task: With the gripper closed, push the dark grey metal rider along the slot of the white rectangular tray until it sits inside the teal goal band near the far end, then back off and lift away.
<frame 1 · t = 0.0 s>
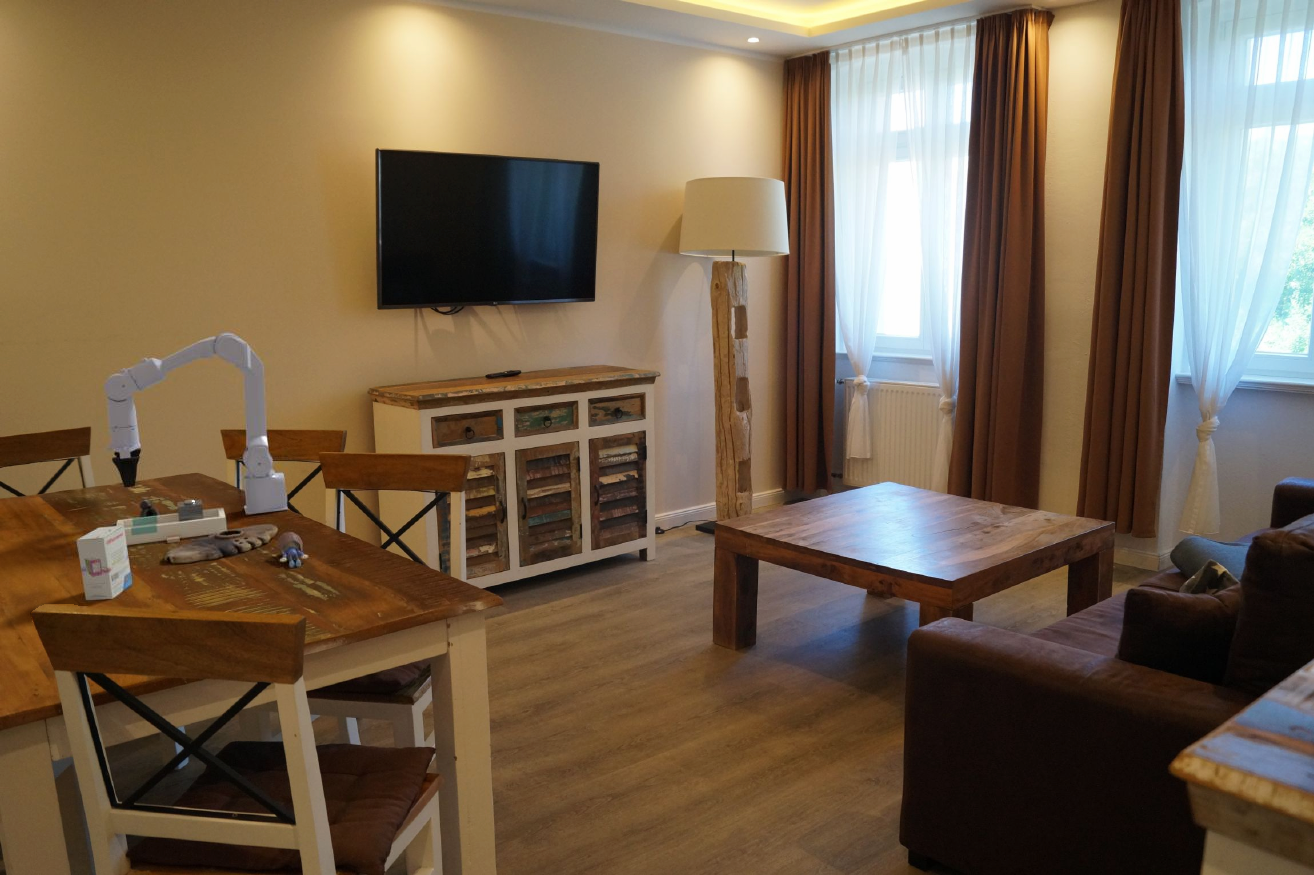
hand: (130, 483, 226), 10 cm above the table, fingers open, 7 cm apart
mask: (223, 550, 208), on the table
ink box: (109, 593, 181), on the table
figurine: (292, 561, 199), on the table
rider: (190, 511, 221), point 5 cm above the table, slide at 0.0 cm
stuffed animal: (148, 526, 229), on the table
white rectangular tray: (173, 533, 220), on the table
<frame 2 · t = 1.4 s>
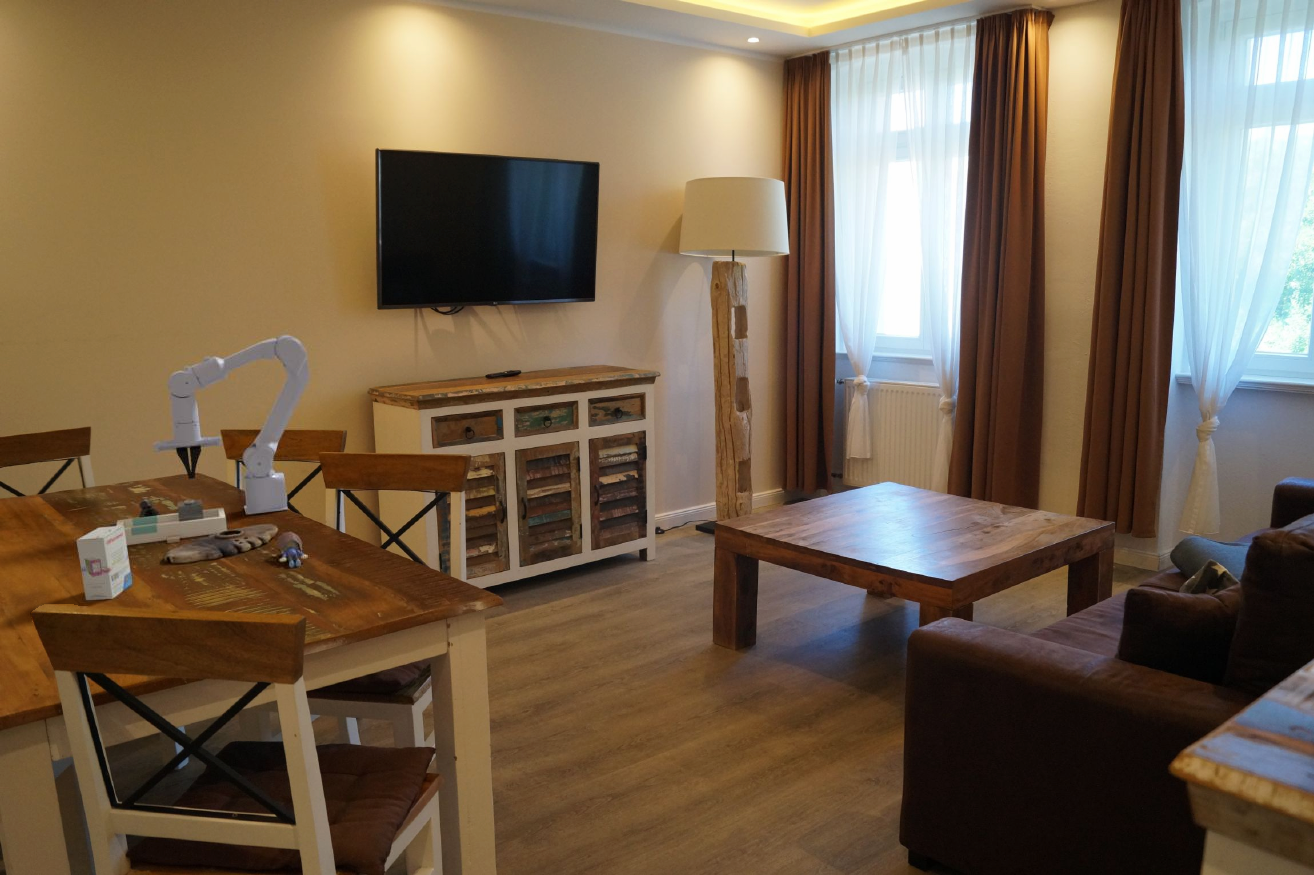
hand: (191, 477, 232), 10 cm above the table, fingers closed
nothing on the table moved.
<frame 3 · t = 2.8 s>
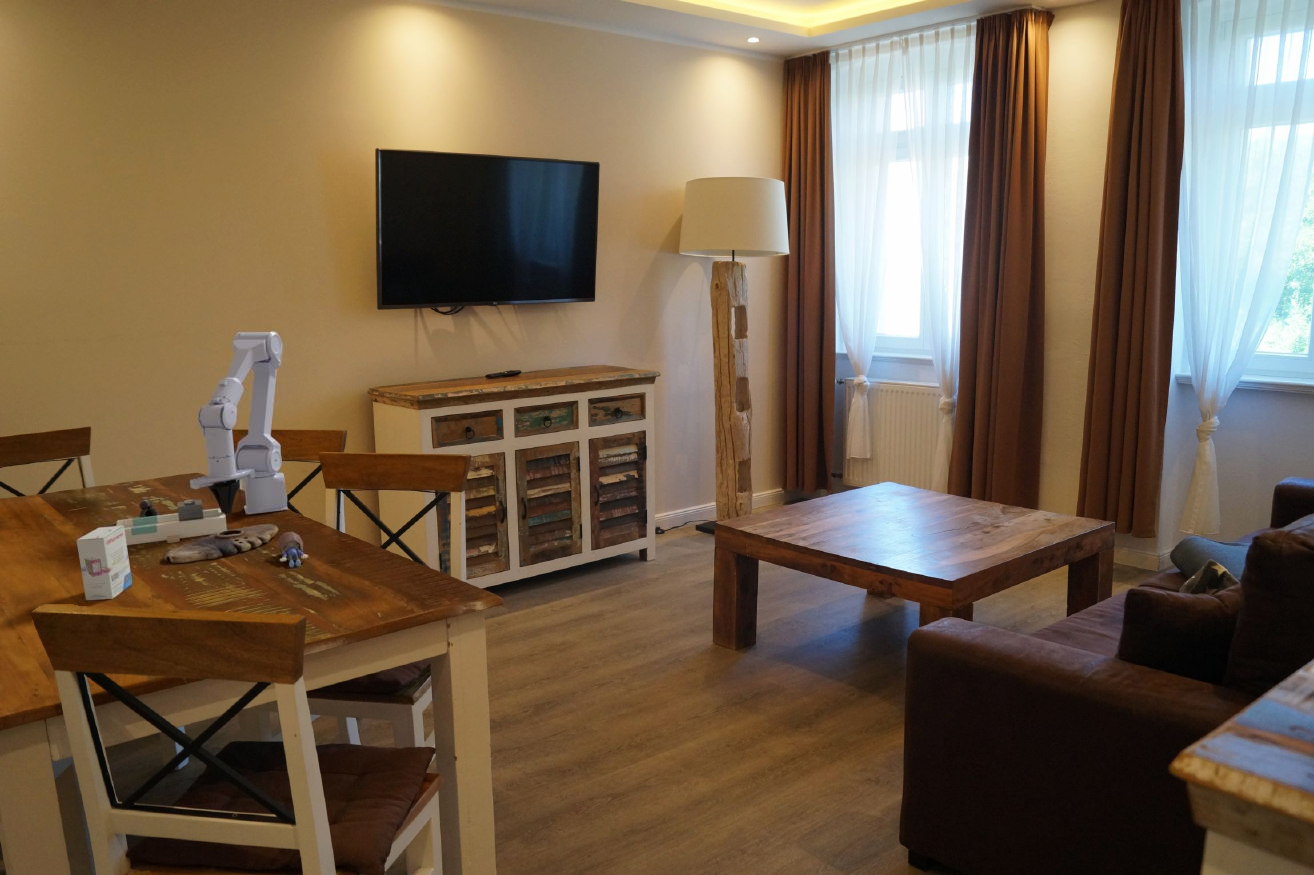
hand: (226, 513, 224), 3 cm above the table, fingers closed, pressing on white rectangular tray
nothing on the table moved.
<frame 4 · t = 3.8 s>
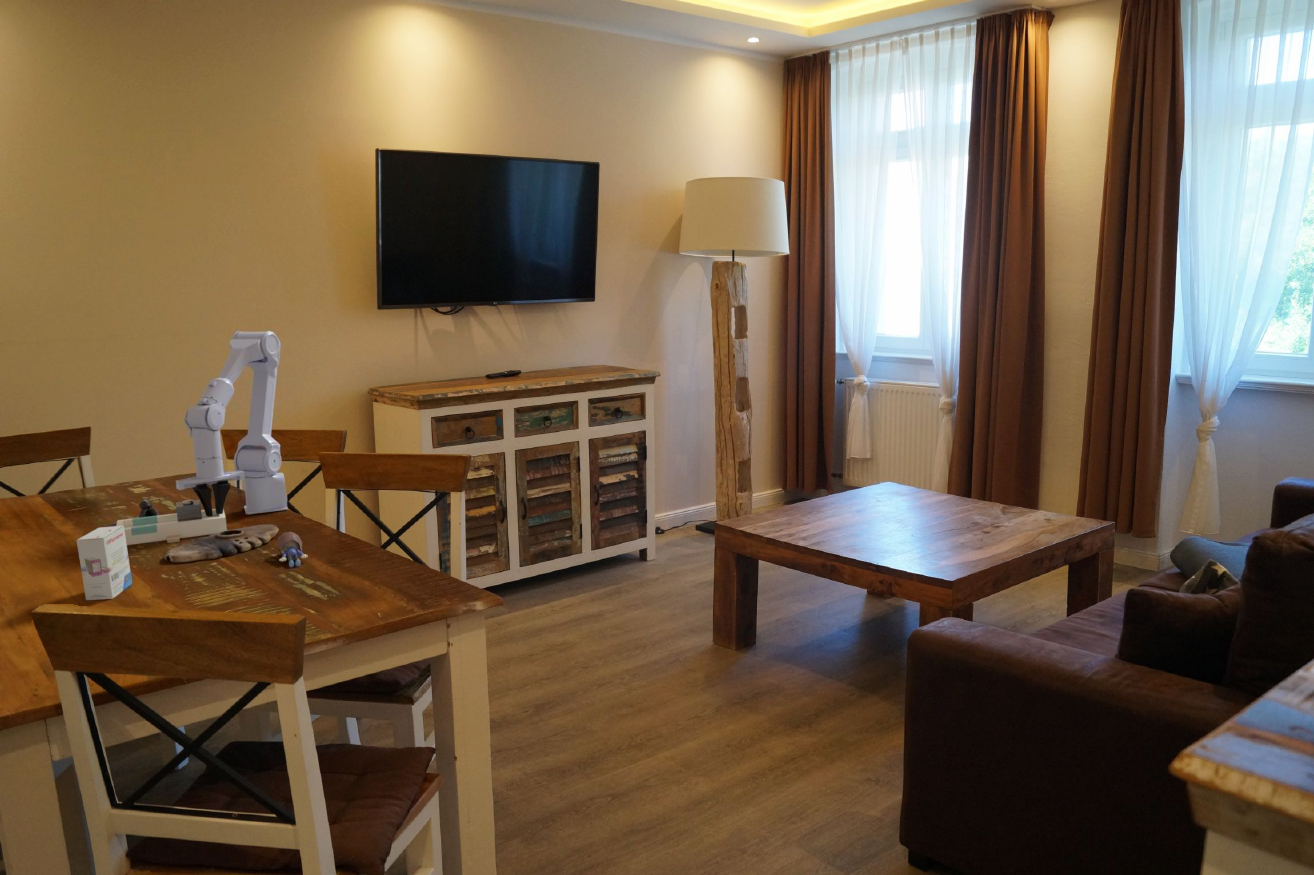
hand: (214, 515, 223), 3 cm above the table, fingers closed
rider: (189, 511, 221), point 5 cm above the table, slide at 0.4 cm, touching gripper
everything else where it was.
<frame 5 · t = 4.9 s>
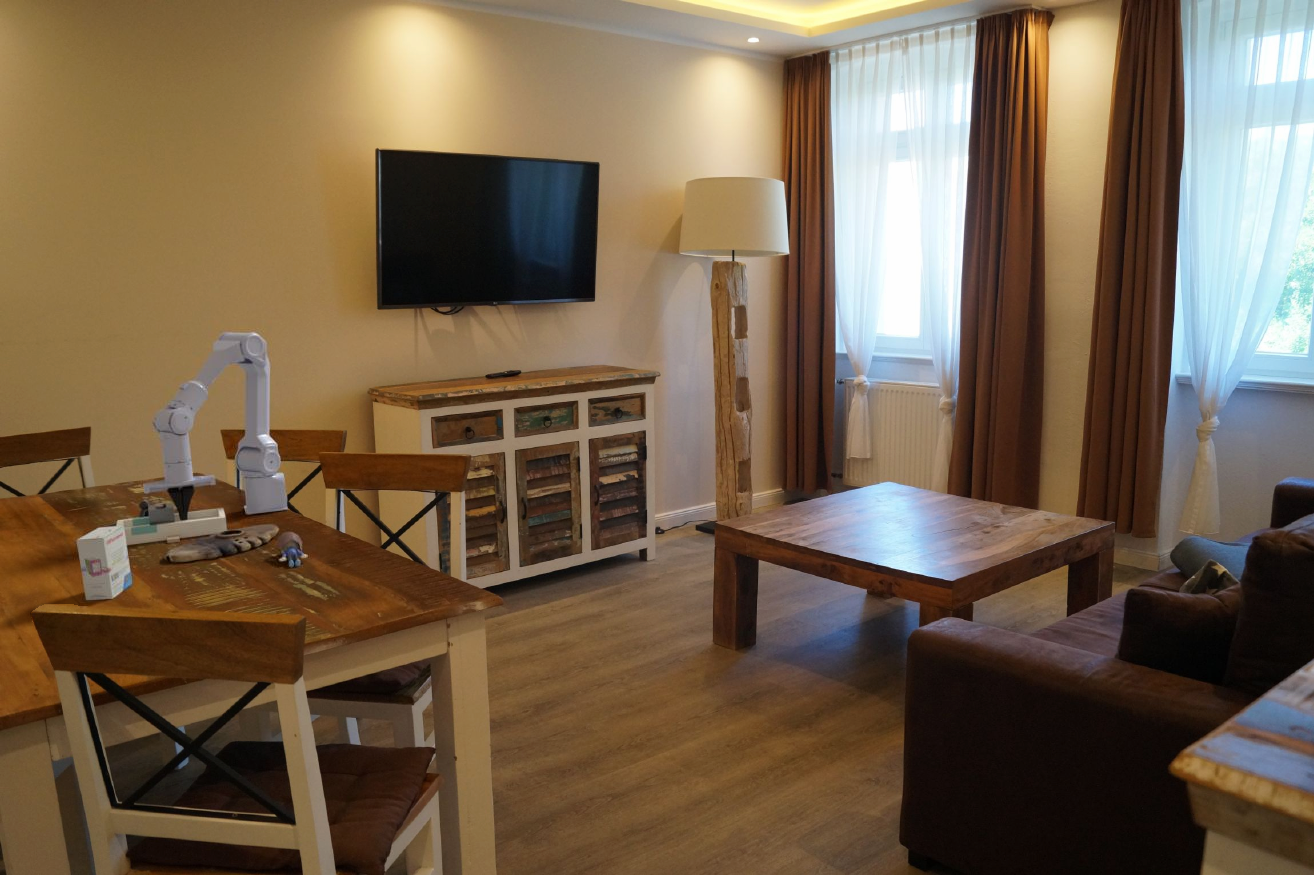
hand: (183, 519, 220), 3 cm above the table, fingers closed
rider: (161, 515, 218), point 5 cm above the table, slide at 5.9 cm, touching gripper
everything else where it was.
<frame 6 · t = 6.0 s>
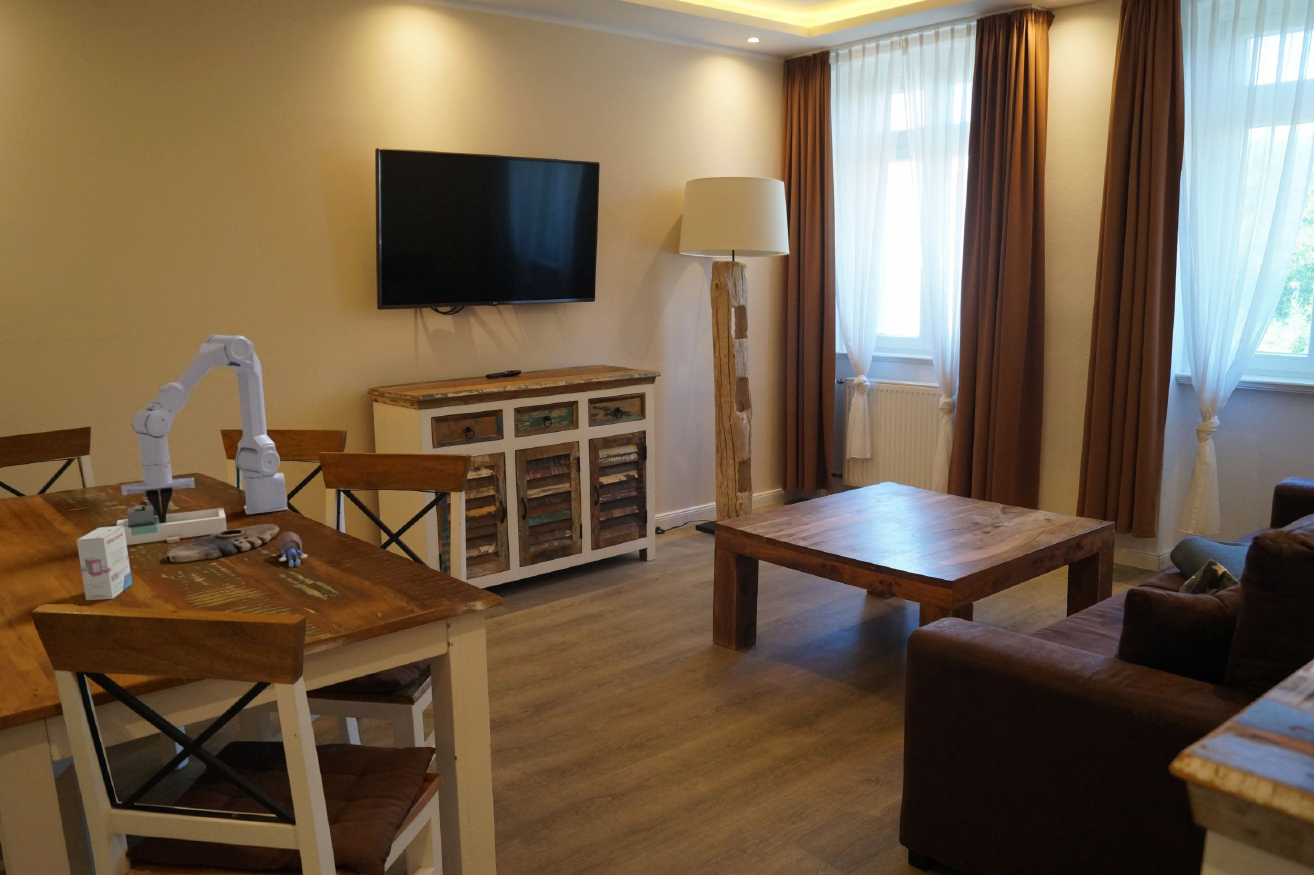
hand: (162, 522, 219), 3 cm above the table, fingers closed
rider: (140, 517, 216), point 5 cm above the table, slide at 10.1 cm, touching gripper
everything else where it was.
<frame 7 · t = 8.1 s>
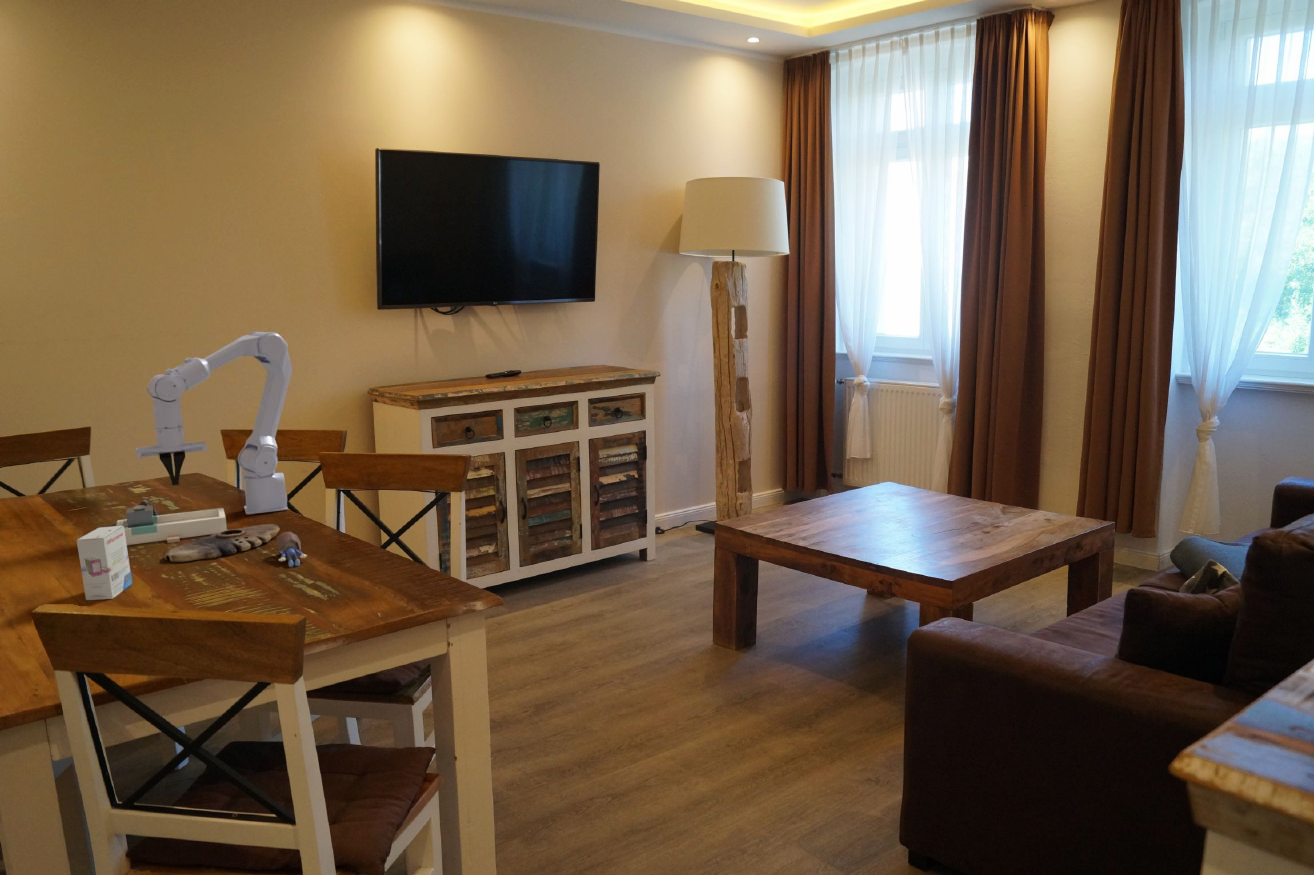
hand: (175, 484, 225), 10 cm above the table, fingers closed
rider: (140, 517, 216), point 5 cm above the table, slide at 10.2 cm
everything else where it was.
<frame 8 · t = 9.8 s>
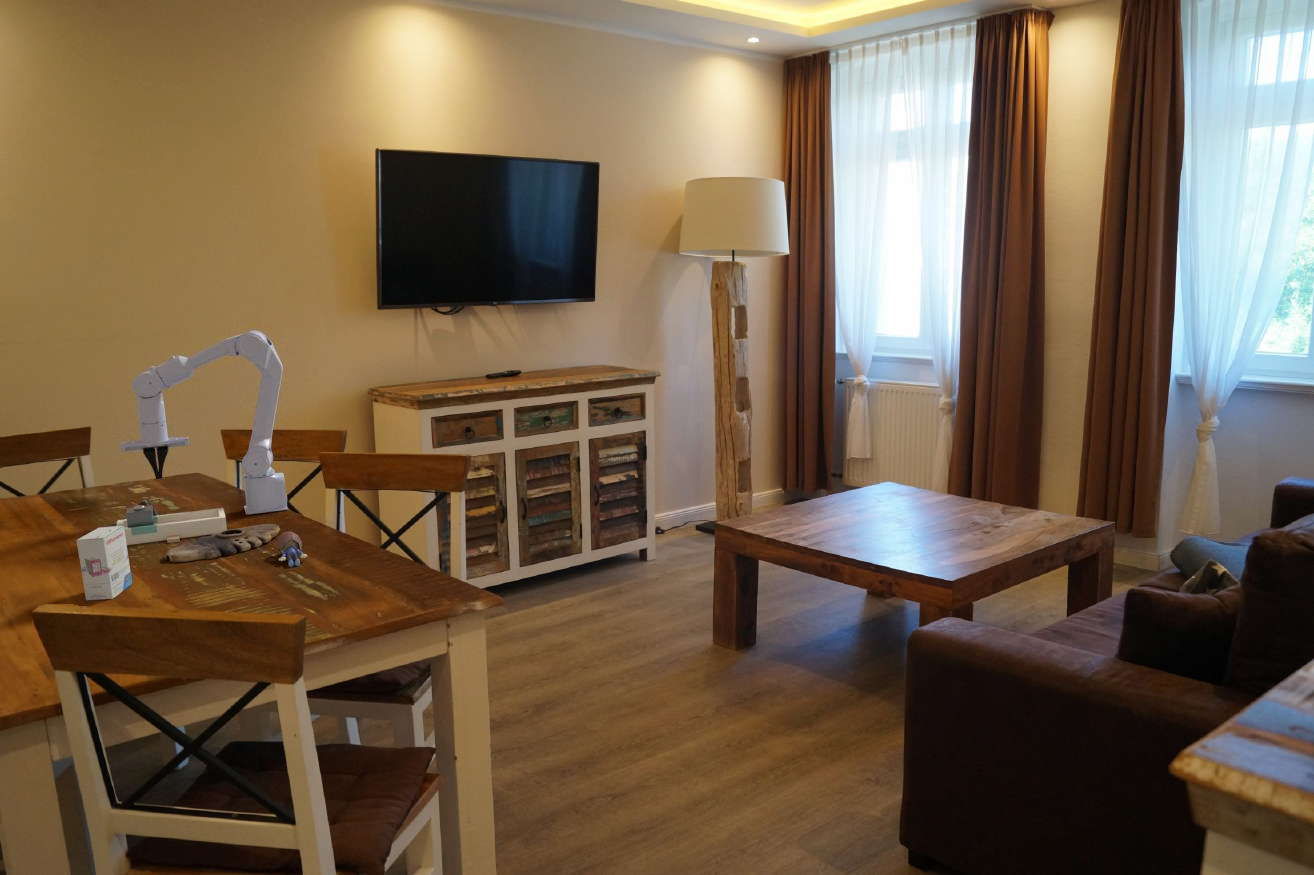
hand: (159, 478, 232), 10 cm above the table, fingers closed
nothing on the table moved.
at the end: rider slide at 10.2 cm; rider 0.9 cm from the target spot, point 4.6 cm above the table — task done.
